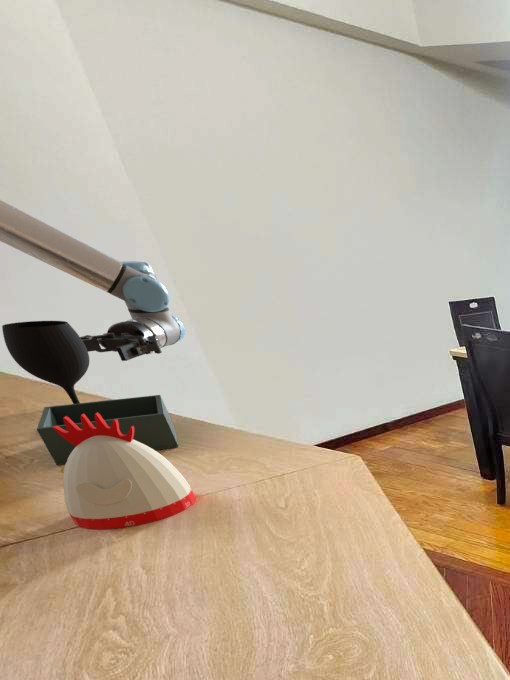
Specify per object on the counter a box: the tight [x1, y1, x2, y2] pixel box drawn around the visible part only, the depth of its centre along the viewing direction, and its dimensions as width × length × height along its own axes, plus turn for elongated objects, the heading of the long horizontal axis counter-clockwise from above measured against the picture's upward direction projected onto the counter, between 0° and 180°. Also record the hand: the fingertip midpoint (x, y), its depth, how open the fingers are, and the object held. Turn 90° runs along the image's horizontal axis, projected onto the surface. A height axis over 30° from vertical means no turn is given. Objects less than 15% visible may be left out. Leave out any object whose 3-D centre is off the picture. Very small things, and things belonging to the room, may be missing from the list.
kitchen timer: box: [53, 412, 196, 530], centre depth 87 cm, size 14×14×15 cm
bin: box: [36, 394, 179, 466], centre depth 113 cm, size 17×17×7 cm
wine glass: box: [1, 320, 90, 404], centre depth 118 cm, size 10×10×20 cm
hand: (80, 354), depth 123 cm, fingers open, 13 cm apart
